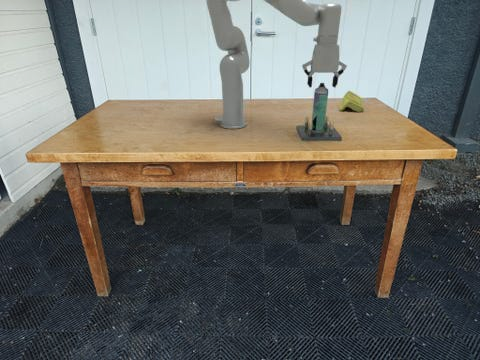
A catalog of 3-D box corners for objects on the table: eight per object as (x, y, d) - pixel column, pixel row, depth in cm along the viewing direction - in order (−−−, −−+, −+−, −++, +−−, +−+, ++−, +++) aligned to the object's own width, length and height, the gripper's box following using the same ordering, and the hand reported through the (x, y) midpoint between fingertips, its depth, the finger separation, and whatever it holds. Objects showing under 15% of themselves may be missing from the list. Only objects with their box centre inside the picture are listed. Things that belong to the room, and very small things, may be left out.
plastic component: (363, 108, 166) (347, 99, 166) (355, 120, 170) (339, 111, 170) (361, 97, 182) (346, 89, 182) (354, 108, 187) (339, 100, 187)
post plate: (302, 140, 131) (303, 125, 128) (296, 128, 145) (297, 114, 142) (341, 140, 130) (343, 125, 128) (331, 128, 145) (333, 114, 142)
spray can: (321, 128, 140) (327, 81, 131) (325, 132, 135) (331, 84, 126) (309, 129, 139) (313, 82, 130) (312, 133, 135) (317, 84, 125)
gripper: (306, 41, 118) (302, 88, 126) (353, 41, 117) (345, 88, 125) (302, 40, 124) (299, 85, 132) (347, 40, 124) (340, 85, 132)
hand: (321, 86), depth 129 cm, fingers open, 9 cm apart
